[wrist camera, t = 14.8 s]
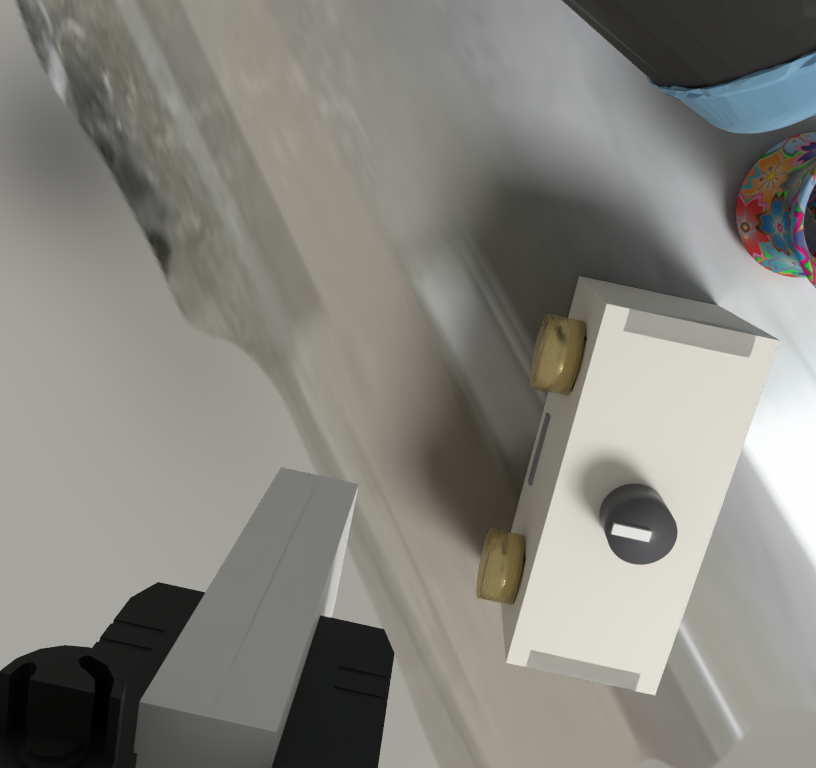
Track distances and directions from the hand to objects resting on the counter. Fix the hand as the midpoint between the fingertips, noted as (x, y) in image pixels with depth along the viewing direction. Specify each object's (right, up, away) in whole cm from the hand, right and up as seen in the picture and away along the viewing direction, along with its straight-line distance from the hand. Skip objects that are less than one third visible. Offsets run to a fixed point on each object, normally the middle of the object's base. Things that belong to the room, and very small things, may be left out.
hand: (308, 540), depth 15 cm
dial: (+14, -4, +28) cm, 31 cm away
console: (+15, -1, +37) cm, 40 cm away
